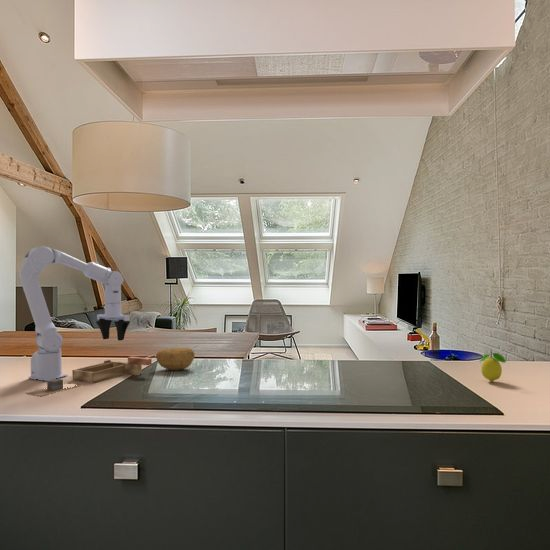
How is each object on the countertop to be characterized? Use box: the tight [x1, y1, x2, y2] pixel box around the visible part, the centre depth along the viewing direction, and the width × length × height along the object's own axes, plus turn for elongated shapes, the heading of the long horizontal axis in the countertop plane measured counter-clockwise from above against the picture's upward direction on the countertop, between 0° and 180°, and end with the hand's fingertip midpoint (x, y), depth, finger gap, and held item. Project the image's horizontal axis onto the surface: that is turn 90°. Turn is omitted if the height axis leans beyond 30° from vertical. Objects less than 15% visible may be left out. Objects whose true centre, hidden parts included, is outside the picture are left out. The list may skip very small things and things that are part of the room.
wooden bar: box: [127, 356, 152, 366], centre depth 141 cm, size 9×2×2 cm, turn 64°
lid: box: [26, 378, 82, 398], centre depth 124 cm, size 7×13×3 cm, turn 152°
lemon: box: [479, 350, 507, 383], centre depth 126 cm, size 7×6×10 cm
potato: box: [155, 346, 196, 371], centre depth 148 cm, size 10×14×8 cm
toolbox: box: [71, 359, 143, 384], centre depth 139 cm, size 16×16×4 cm
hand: (113, 339), depth 153 cm, fingers open, 7 cm apart
